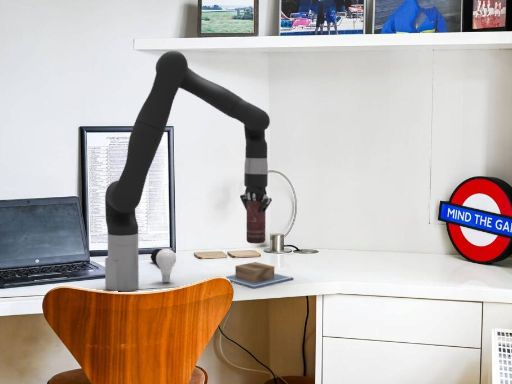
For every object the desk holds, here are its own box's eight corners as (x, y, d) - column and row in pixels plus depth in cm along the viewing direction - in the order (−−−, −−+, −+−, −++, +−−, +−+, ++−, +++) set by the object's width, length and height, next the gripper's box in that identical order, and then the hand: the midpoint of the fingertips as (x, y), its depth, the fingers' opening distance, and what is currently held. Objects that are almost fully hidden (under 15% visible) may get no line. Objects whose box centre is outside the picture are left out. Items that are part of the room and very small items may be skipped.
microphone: (173, 282, 228) (161, 262, 246) (178, 267, 227) (166, 248, 245) (158, 278, 226) (147, 259, 244) (163, 263, 225) (152, 244, 243)
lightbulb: (161, 286, 210) (161, 251, 209) (152, 281, 215) (152, 248, 214) (179, 283, 213) (179, 249, 212) (170, 279, 219) (170, 246, 217)
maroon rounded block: (264, 244, 215) (264, 200, 213) (244, 243, 216) (245, 200, 214) (267, 240, 221) (267, 198, 219) (248, 239, 222) (248, 197, 220)
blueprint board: (254, 288, 208) (254, 286, 208) (220, 279, 220) (220, 277, 219) (293, 279, 221) (293, 277, 220) (259, 271, 232) (259, 269, 232)
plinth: (254, 282, 213) (254, 270, 213) (235, 277, 219) (235, 265, 219) (274, 278, 219) (274, 266, 219) (255, 273, 226) (255, 262, 225)
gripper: (233, 171, 217) (232, 223, 219) (262, 174, 208) (261, 229, 210) (250, 170, 223) (249, 221, 225) (278, 172, 213) (277, 226, 215)
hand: (255, 225), depth 217 cm, fingers closed
